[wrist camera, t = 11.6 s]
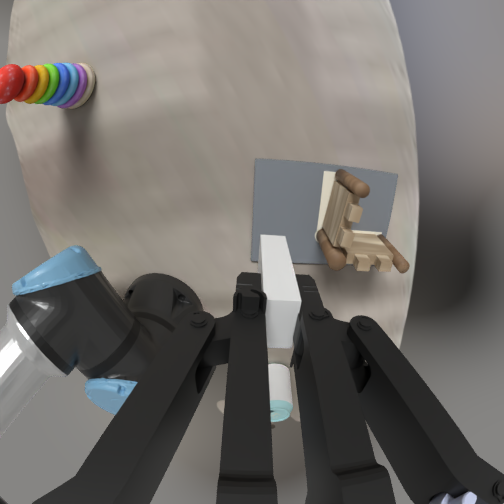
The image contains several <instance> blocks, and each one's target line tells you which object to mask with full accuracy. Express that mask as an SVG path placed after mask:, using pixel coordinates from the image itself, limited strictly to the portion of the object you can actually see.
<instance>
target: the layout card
mask: <svg viewBox="0 0 504 504" xmlns="http://www.w3.org/2000/svg"><path fill="white" fill-rule="evenodd" d="M339 169H343V170H345V171H347V172H348V173H350V174H352V175H353V176H355V177H356V178H358V179H360V180H361V181H363V182H364V183H366V184H367V185H368V186H369V187H370V193H369V195H368V196H367V197H365V198H360V200H359V203H358V205H359V206H361V207H362V208H363V211H362V215H361V218H360V221H359V223H356V222H353V223H352V227H351V230H352V231H353V233H363V234H375V235H376V236H377V235H379V234H382V235H383V236H384V237H385V238H386V235H387V230H388V226H389V221H390V217H391V212H392V207H393V201H394V196H395V190H396V185H397V178H398V174H393V173H388V172H382V171H376V170H369V169H362V168H355V167H348V166H340V165H331V164H322V163H312V162H301V161H288V160H273V159H255V179H254V203H253V227H252V251H251V261H258V260H259V247H260V235H277V236H285V237H286V241H287V245H288V249H289V253H290V257H291V261H292V263H313V264H328V263H327V260H326V258H325V256H324V254H323V252H322V249H321V247H320V245H319V243H318V241H317V238H316V234H317V232H318V231H319V230H320V229H323V227H322V224H323V221H324V217H325V213H326V210H327V206H328V202H329V198H330V195H331V191H332V187H333V183H334V180H335V181H338V180H337V179H336V178H335V173H336V171H337V170H339ZM346 265H353V264H346ZM371 266H375V265H371Z"/></svg>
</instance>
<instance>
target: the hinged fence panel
mask: <svg viewBox="0 0 504 504" xmlns="http://www.w3.org/2000/svg"><path fill="white" fill-rule="evenodd" d="M335 178H336V179H337V180H338V181H335V180H334V183H333V187H332V191H331V195H330V198H329V202H328V206H327V210H326V213H325V217H324V221H323V224H322V227H323V229H324V230H325V232H326V234H327V236H328V237H329V239H330V241H331V243H332V245H333V246H335V247H341V248H345V247H348V248H351V245H352V242H353V239H354V236H355V234H354V233H353V231H352V230H351V227H352V223H353V222H356V223H359V221H360V218H361V215H362V211H363V208H362V207H361V206H359V205H358V203H359V200H360V198H365V197H367V196H368V195H369V193H370V187H369V186H368V185H367V184H366V183H364V182H363V181H361V180H360V179H358V178H356V177H355V176H353V175H352V174H350V173H348V172H347V171H345V170H343V169H339V170H337V171H336V173H335Z"/></svg>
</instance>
